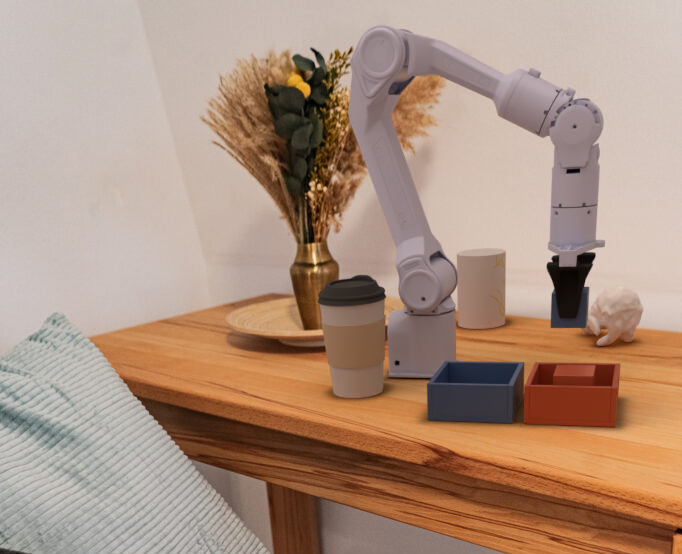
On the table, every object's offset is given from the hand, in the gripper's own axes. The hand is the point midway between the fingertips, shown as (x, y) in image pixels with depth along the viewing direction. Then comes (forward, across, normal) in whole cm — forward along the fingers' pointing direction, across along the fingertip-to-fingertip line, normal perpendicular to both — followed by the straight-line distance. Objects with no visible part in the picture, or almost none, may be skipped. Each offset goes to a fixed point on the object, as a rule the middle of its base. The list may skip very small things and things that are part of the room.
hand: (569, 313), depth 111 cm
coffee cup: (+9, -9, +27) cm, 30 cm away
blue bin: (+8, -15, +10) cm, 20 cm away
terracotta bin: (+8, -16, -2) cm, 18 cm away
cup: (+9, +31, +17) cm, 36 cm away
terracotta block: (+8, -15, -2) cm, 17 cm away
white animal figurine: (+8, +20, -4) cm, 22 cm away
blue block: (+1, 0, 0) cm, 1 cm away
